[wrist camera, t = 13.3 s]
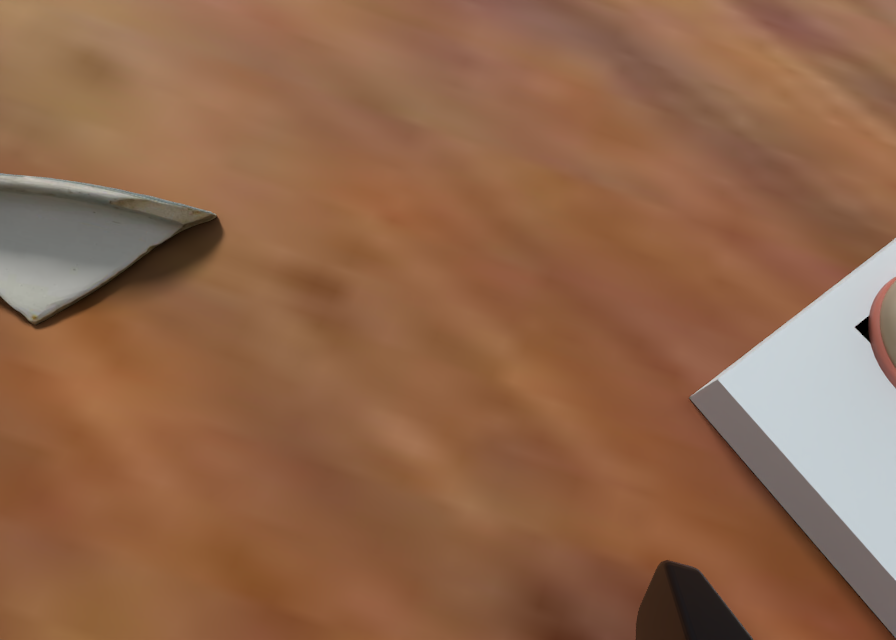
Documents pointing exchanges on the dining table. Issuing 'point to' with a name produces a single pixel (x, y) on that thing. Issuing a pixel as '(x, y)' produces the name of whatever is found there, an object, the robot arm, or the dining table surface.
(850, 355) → the grey board
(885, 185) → the dining table surface
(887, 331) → the maple leg
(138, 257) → the ceramic fragment
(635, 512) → the dining table surface
